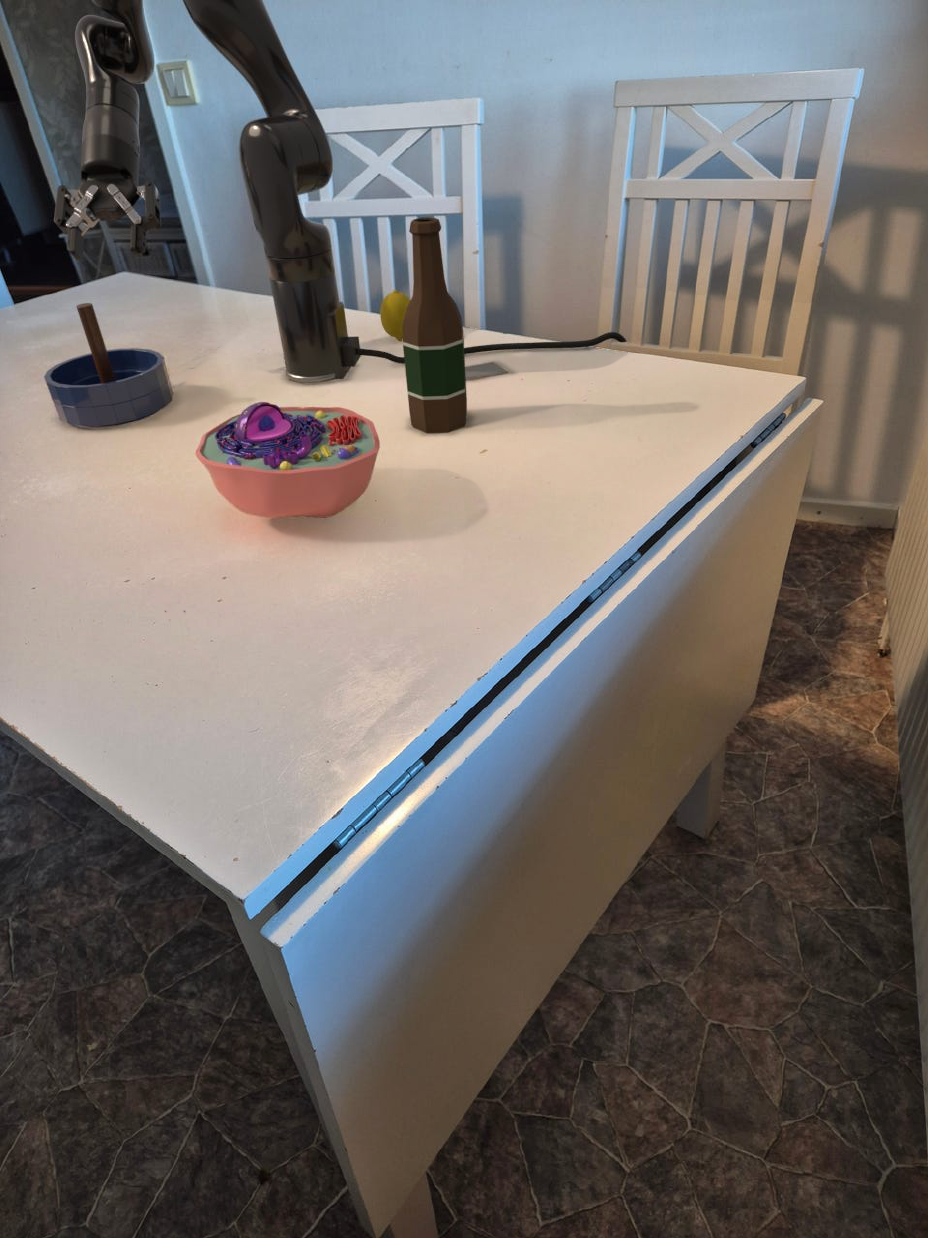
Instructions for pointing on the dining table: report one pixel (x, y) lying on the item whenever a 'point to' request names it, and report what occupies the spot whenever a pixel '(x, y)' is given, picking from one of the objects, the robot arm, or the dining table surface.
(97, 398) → the blue round bowl
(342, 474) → the cell model
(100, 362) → the wooden plunger stick
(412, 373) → the beer bottle
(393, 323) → the lemon
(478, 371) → the cleaver
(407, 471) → the dining table surface
